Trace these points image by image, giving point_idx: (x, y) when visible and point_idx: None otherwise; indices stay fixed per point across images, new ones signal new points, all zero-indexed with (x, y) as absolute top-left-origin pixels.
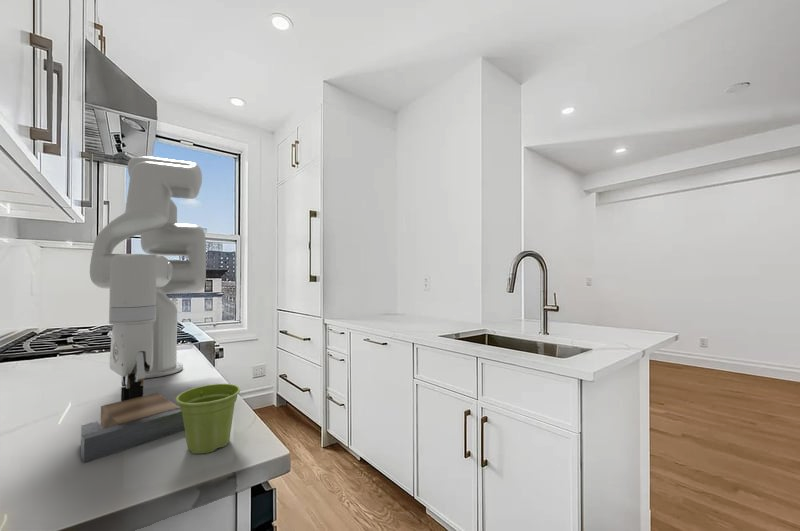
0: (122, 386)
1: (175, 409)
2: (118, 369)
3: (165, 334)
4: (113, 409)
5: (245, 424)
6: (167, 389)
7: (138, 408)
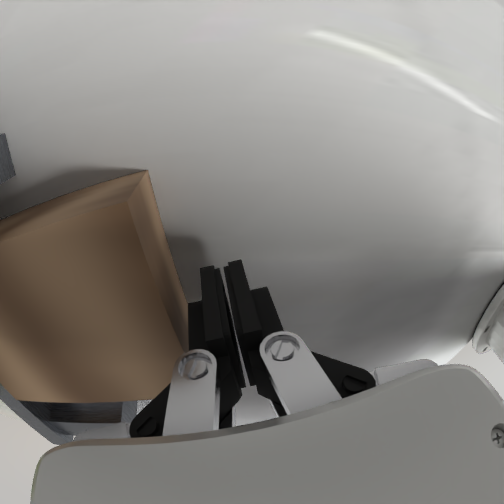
0: (274, 335)
1: (5, 390)
2: (128, 489)
3: None
4: (37, 261)
5: None
6: (390, 345)
7: (23, 335)
